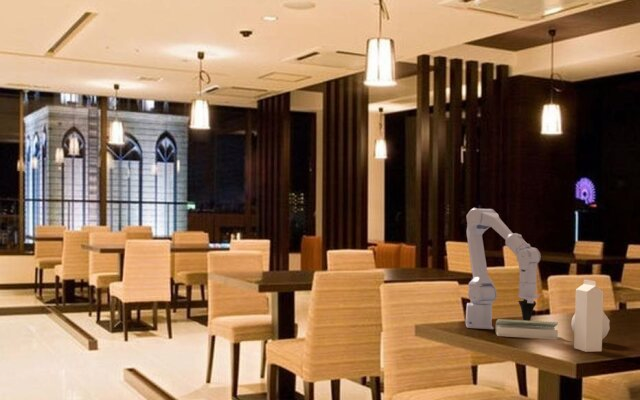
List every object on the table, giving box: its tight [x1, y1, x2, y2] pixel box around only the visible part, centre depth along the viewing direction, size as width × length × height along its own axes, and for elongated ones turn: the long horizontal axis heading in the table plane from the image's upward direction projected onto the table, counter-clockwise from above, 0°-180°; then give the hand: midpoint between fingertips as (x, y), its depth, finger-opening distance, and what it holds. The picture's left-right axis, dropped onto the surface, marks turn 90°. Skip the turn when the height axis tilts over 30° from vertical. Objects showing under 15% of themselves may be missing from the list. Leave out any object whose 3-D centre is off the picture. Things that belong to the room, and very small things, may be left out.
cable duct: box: [495, 323, 559, 340], centre depth 252 cm, size 20×7×3 cm, turn 82°
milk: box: [573, 279, 604, 353], centre depth 230 cm, size 6×6×22 cm
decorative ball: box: [570, 310, 611, 340], centre depth 244 cm, size 12×12×12 cm
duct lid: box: [495, 318, 559, 328], centre depth 253 cm, size 20×7×1 cm, turn 82°
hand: (526, 321), depth 252 cm, fingers closed
